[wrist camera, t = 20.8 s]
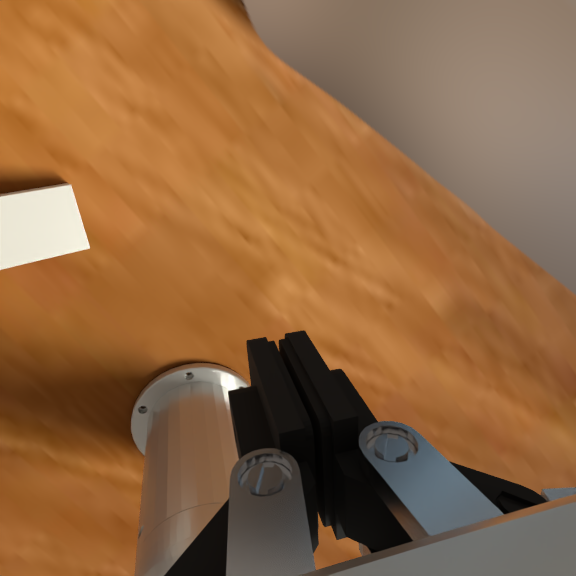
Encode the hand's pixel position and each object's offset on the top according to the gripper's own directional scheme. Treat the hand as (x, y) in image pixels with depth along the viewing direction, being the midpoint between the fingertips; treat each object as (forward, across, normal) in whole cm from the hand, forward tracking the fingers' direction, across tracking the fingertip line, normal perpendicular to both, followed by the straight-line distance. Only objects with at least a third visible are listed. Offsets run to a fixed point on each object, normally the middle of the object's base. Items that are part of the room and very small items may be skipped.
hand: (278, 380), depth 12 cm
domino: (+26, +10, -1) cm, 28 cm away
